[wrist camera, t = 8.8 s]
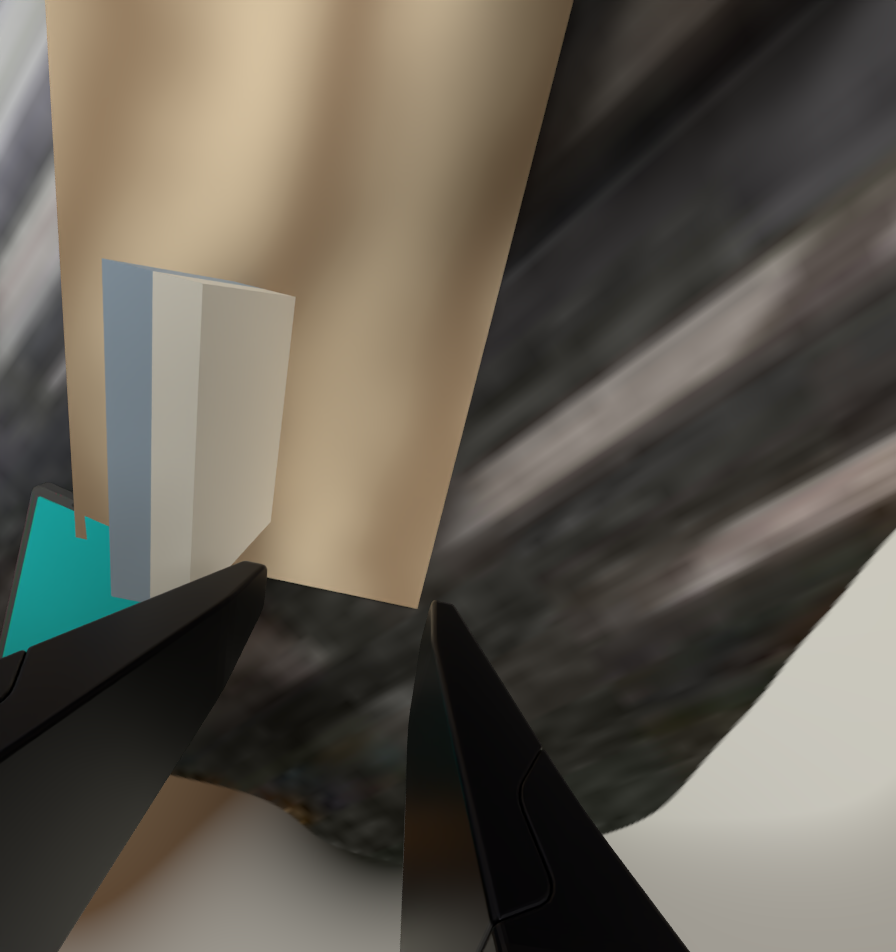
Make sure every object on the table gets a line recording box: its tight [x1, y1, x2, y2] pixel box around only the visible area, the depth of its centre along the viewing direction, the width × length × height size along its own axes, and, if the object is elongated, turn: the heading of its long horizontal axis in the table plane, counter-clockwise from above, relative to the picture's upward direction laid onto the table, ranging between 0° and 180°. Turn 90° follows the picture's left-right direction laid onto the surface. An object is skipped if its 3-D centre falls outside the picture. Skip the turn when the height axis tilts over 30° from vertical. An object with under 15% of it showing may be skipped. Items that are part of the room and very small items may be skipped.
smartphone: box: [0, 483, 140, 659], centre depth 21 cm, size 7×1×15 cm
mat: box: [45, 0, 573, 609], centre depth 16 cm, size 15×22×1 cm
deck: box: [102, 258, 296, 602], centre depth 14 cm, size 2×9×6 cm, turn 167°
